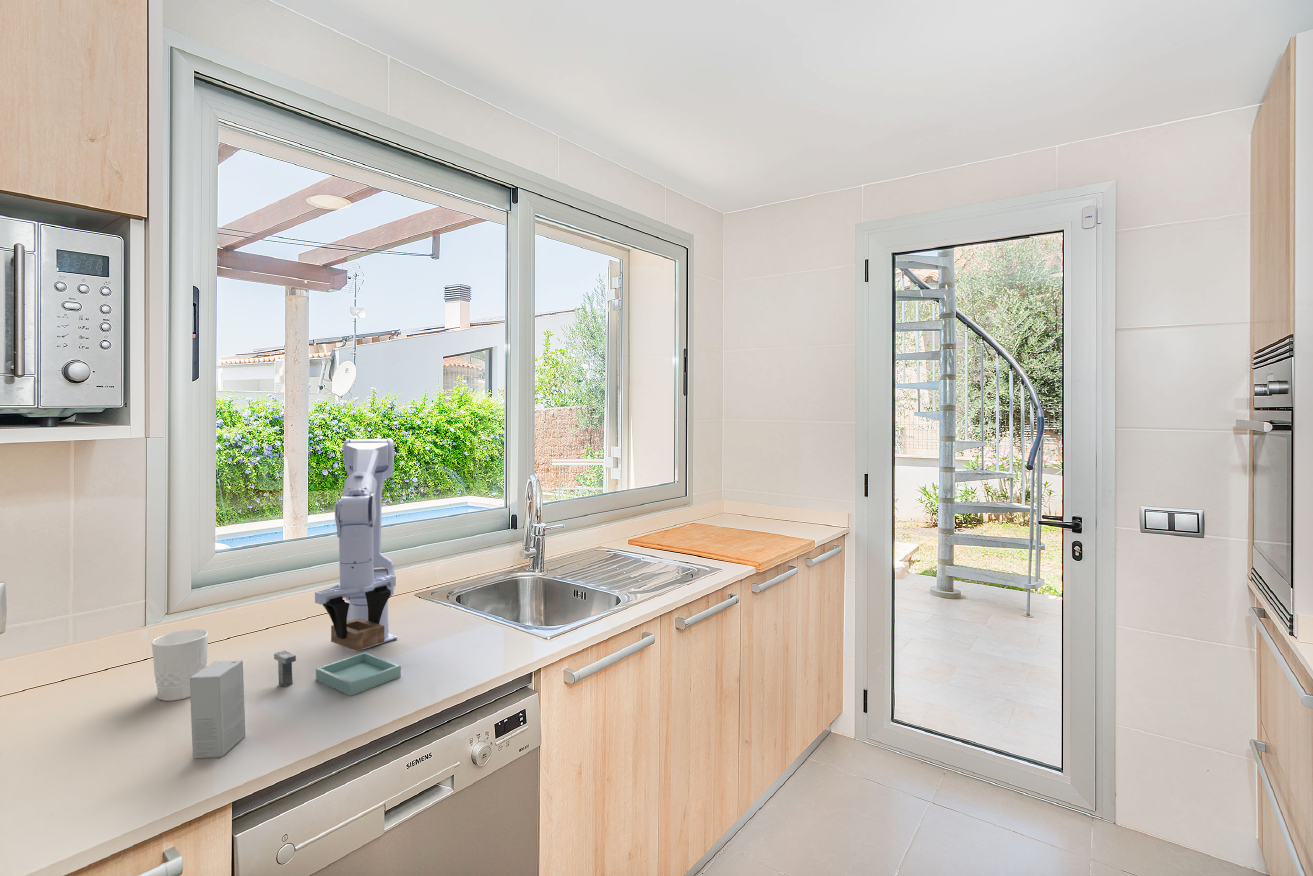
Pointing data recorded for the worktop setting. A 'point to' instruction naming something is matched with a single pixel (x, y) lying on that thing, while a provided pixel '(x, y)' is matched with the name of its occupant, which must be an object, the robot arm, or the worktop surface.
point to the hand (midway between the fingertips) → (357, 632)
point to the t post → (285, 667)
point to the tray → (358, 673)
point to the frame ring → (360, 634)
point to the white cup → (178, 661)
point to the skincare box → (217, 708)
